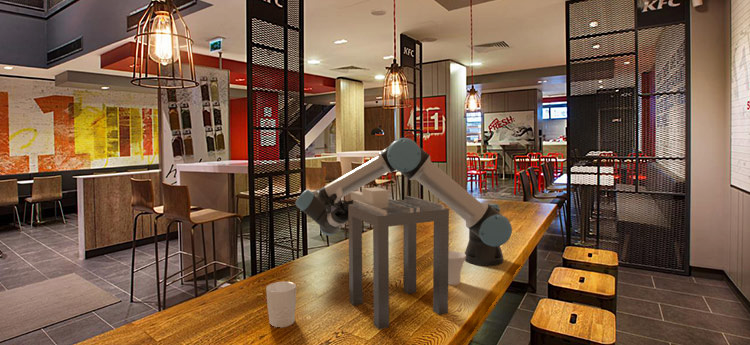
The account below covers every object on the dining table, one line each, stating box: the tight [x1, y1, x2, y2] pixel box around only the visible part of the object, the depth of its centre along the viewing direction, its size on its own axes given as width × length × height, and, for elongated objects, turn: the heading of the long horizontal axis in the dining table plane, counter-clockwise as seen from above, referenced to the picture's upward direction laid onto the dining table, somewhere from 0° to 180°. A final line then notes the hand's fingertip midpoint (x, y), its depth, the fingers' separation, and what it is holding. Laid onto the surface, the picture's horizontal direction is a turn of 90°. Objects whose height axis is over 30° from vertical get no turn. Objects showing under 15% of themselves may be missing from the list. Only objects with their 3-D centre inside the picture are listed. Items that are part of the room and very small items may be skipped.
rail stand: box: [348, 195, 450, 330], centre depth 118 cm, size 20×22×31 cm
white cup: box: [265, 281, 297, 328], centre depth 110 cm, size 8×8×10 cm
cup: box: [448, 250, 466, 286], centre depth 139 cm, size 9×9×10 cm
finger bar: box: [350, 186, 389, 208], centre depth 123 cm, size 19×5×5 cm, turn 26°
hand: (361, 189), depth 126 cm, fingers open, 13 cm apart
